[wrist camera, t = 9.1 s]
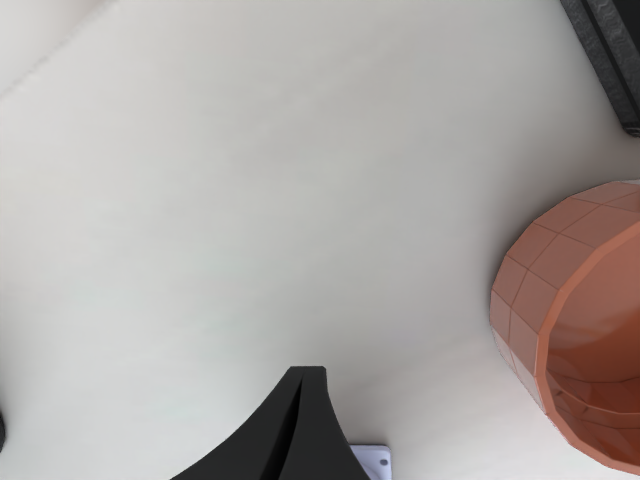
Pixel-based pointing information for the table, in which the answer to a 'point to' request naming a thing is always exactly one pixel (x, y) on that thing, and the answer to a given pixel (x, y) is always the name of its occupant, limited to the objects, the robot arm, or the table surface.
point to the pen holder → (1, 434)
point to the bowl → (578, 319)
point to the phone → (612, 51)
